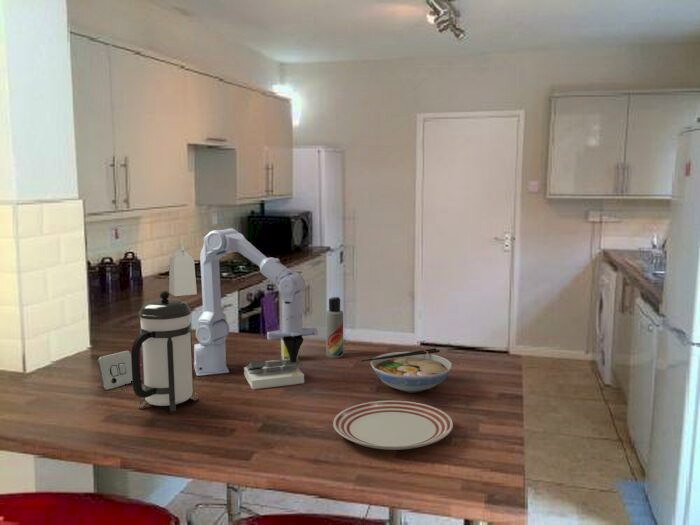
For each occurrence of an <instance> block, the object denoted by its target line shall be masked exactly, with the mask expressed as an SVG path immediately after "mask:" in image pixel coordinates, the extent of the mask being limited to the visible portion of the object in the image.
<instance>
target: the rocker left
mask: <svg viewBox="0 0 700 525" xmlns="http://www.w3.org/2000/svg"><path fill="white" fill-rule="evenodd" d="M246 367H247V368H248V370H254V369H261V368H263V367H265V360H262V361H253V362H250V363H249V364H247V365H246Z"/></svg>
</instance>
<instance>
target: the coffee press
mask: <svg viewBox="0 0 700 525" xmlns="http://www.w3.org/2000/svg"><path fill="white" fill-rule="evenodd" d="M159 297H160V299H154V300H151V301H148V302H145V303H144V304H143V305H142V307H141V308H140V311H138V317H139V319H140V327H139V333H140V334H139V335H138V336H137V337H136V338H135V340H134V341H133V344H132V346H131V361H132V381H133V382H132V389H133V392H134V394H135V396H136V397H139V398H141V400H140V401H139V402H138V408H139V409H140V410H143V409H145V408H146V407H147V406H148V405H149V404H150V405H153V406H157V407H158V406H160V407H162V406H163V407H167V406H168V409H169V413H170V414H176V413H177V408H176V407H177V406H176V405H179V404H181V403H184V402H186V401H188V400H189V399H191V400H192V401H194V402H195V401H196V402H197V401H198V400H199V396H198V394H197V393H196V391H194V372H193V371H194V369H193V368H194V362H193V341H192V338H193V337H192V323H191V313H192V309H191V307H190V306H189V304H188V303H187V302H186V301H184V300H182V299H175V298H169V297H170V293H169V292H168V291H167V290H162V291H161V292H160V293H159ZM140 356H141V359H140ZM141 376H142V377H141ZM141 378H142V379H141ZM193 393H194V394H195V395H196V397H195V398H193V397H192V395H193ZM144 400H145V401H146V403H144V405H143V406H141V405H142V403H143V402H144Z"/></svg>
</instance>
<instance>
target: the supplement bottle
mask: <svg viewBox="0 0 700 525" xmlns="http://www.w3.org/2000/svg"><path fill="white" fill-rule="evenodd" d="M280 356H281V357H280V358H281V360H282V359H288V358H290V357H289V353H288V350H287V348H286V345H285V343H284V341H283V339H282V338H280ZM297 359H299V354H298V355H297Z"/></svg>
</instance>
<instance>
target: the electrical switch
mask: <svg viewBox="0 0 700 525" xmlns="http://www.w3.org/2000/svg"><path fill="white" fill-rule="evenodd" d="M131 354H132V352H131V351H129V350H124V351H119V352H116V353H113V354H108V355H107V354H106V355H103V356H99V358H98V359H97V360H96V363H97V370H98V375H99V379H100V383H101V384H100V385H101V387H102V388H103V389H104V390H110V389H115V388H119V387H121V386H125V384H126V385H129V384H132V383H131V381H132V361H131Z"/></svg>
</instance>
